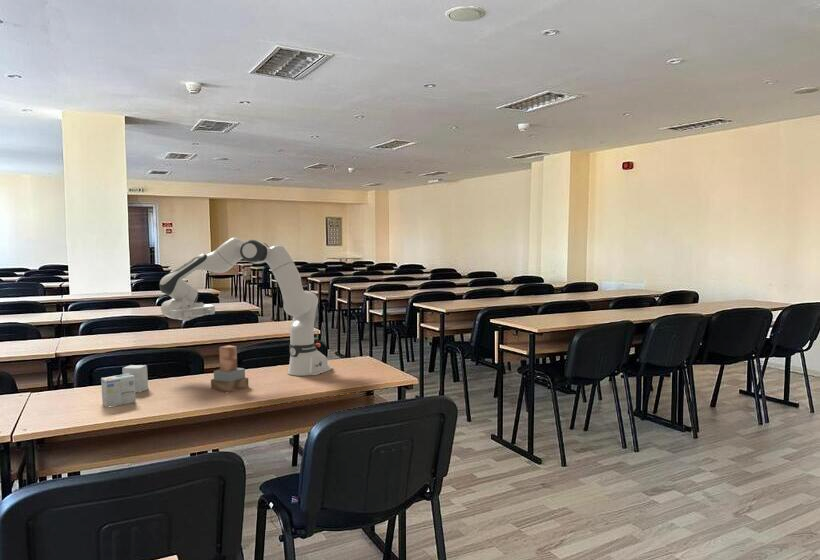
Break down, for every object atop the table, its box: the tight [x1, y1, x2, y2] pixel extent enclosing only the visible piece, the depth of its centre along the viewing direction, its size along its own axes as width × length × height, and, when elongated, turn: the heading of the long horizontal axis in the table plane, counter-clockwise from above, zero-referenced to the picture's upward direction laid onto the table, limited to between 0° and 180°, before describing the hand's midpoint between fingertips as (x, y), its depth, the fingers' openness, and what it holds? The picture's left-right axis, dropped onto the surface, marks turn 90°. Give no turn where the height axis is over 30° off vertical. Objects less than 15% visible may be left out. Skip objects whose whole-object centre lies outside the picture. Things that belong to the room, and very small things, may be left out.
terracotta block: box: [218, 344, 238, 371], centre depth 238 cm, size 5×5×10 cm
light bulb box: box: [100, 373, 137, 408], centre depth 216 cm, size 11×7×11 cm, turn 135°
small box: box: [121, 364, 149, 393], centre depth 235 cm, size 8×6×10 cm
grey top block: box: [213, 367, 246, 382], centre depth 238 cm, size 9×9×4 cm
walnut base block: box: [210, 376, 249, 393], centre depth 239 cm, size 11×11×4 cm
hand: (202, 313), depth 247 cm, fingers open, 8 cm apart
